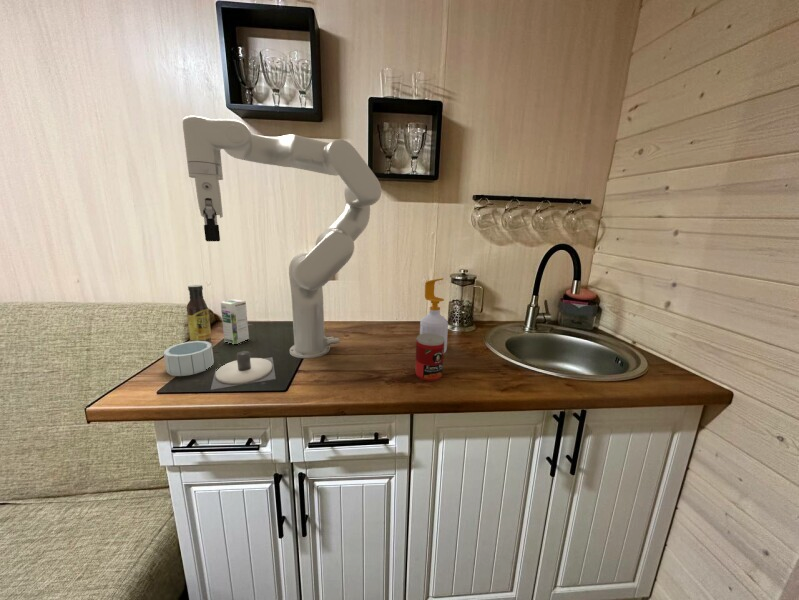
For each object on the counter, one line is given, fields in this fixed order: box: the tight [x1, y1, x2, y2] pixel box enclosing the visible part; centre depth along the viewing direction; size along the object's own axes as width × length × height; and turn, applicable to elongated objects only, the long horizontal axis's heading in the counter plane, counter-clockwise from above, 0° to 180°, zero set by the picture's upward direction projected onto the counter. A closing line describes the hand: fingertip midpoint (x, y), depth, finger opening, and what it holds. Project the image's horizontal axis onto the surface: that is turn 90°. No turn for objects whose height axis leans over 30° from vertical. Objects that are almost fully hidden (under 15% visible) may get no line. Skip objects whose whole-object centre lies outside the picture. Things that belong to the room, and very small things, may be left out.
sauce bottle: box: [186, 284, 212, 343], centre depth 106 cm, size 6×6×20 cm
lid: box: [216, 350, 272, 384], centre depth 87 cm, size 14×14×6 cm
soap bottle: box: [419, 278, 449, 354], centre depth 104 cm, size 9×9×25 cm
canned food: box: [414, 333, 445, 382], centre depth 88 cm, size 8×8×11 cm
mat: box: [210, 356, 276, 391], centre depth 88 cm, size 15×15×1 cm
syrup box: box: [220, 299, 250, 345], centre depth 109 cm, size 6×6×14 cm
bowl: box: [163, 341, 215, 377], centre depth 89 cm, size 11×11×6 cm
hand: (213, 240), depth 85 cm, fingers open, 9 cm apart
